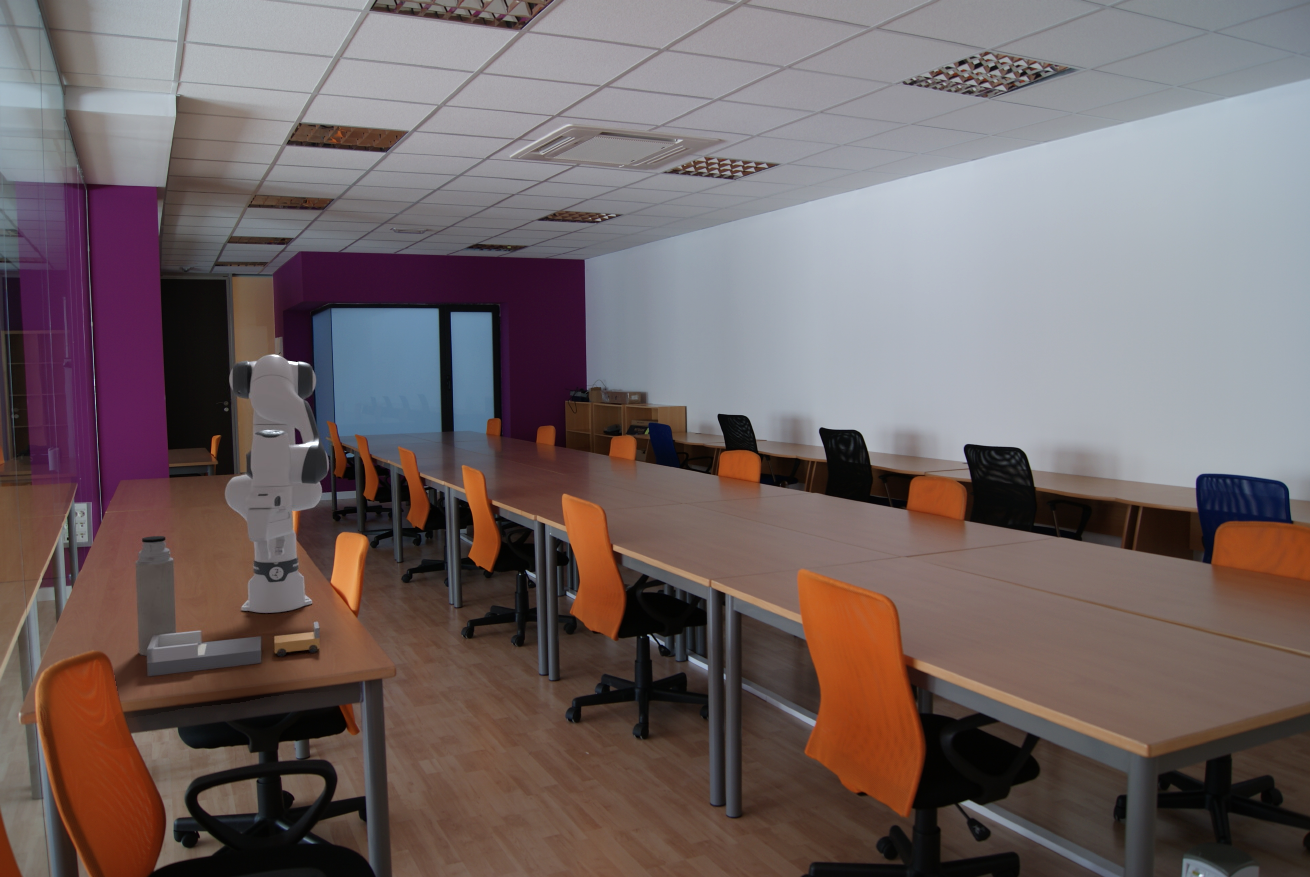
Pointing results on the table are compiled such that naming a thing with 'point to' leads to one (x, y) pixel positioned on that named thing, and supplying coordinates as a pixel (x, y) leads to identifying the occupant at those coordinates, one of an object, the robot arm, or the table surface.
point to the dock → (198, 653)
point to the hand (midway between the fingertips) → (272, 557)
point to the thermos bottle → (154, 591)
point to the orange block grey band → (298, 642)
